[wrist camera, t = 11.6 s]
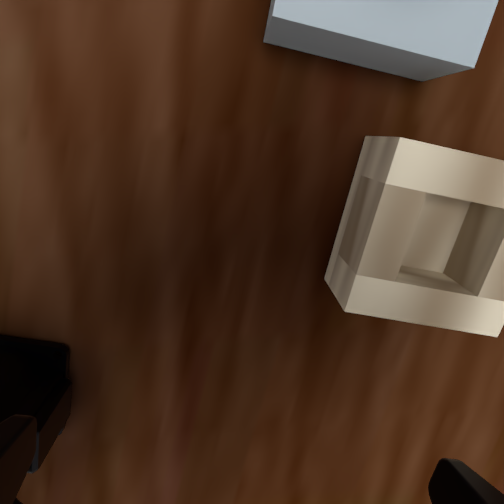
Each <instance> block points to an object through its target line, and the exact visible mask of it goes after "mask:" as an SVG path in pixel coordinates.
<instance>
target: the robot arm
mask: <svg viewBox="0 0 504 504" xmlns="http://www.w3.org/2000/svg"><path fill="white" fill-rule="evenodd" d="M56 351H58V352H60V353H61V354H62V355H59V354H58V353H57V352H56ZM69 353H70V352H69V349H68V347H67V346H65V345H63V344H58V343H51V342H44V341H37V340H30V339H23V338H16V337H10V336H3V335H0V504H22V503H21V502H20V501H19V500H18V499H17V498H16V496H17V493H18V491H19V489H20V487H21V485H22V482H23V480H24V478H25V476H26V474H27V473H34V472H35V471H37V470H38V469H39V467H40V466H41V464H42V462H43V461H44V459H45V457H46V455H47V454H48V452H49V450H50V448H51V447H52V445H53V443H54V441H55V440H56V438H57V436H58V435H60V434H61V433H62V431H63V430H64V428H65V422H66V420H67V419H68V417H69V415H70V407H71V392H72V382H71V380H70V379H69V378H68V370H69ZM428 491H429V496H430V499H431V502H432V504H504V494H502V493H501V492H500V491H498V490H497V489H496V488H495V487H493V486H492V485H491V484H490V483H488V482H487V481H486V480H485V479H483V478H482V477H481V476H479V475H478V474H477V473H476V472H474V471H473V470H472V469H471V468H469V467H468V466H467V465H465V464H464V463H463V462H462V461H460V460H457V459H448V458H442V459H441V460H439V462H438V464H437V466H436V468H435V470H434V473H433V475H432V477H431V479H430V482H429V486H428Z"/></svg>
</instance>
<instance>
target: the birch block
mask: <svg viewBox="0 0 504 504" xmlns="http://www.w3.org/2000/svg"><path fill="white" fill-rule="evenodd" d="M324 279H325V281H326V283H327V284H328V286H329V287H330V289H331V291H332V292H333V294H334V295H335V297H336V299H337V300H338V302H339V304H340V305H341V307H342V308H343V310H344V312H350V313H356V314H362V315H368V316H374V317H380V318H386V319H392V320H398V321H404V322H410V323H416V324H422V325H428V326H434V327H440V328H446V329H452V330H458V331H464V332H470V333H476V334H482V335H488V336H494V337H498V335H499V333H500V331H501V329H502V327H503V325H504V161H503V160H498V159H494V158H490V157H485V156H481V155H476V154H472V153H468V152H463V151H459V150H455V149H450V148H446V147H441V146H437V145H433V144H428V143H424V142H420V141H415V140H411V139H406V138H402V137H384V136H365V139H364V143H363V146H362V150H361V153H360V157H359V160H358V163H357V167H356V170H355V174H354V177H353V181H352V184H351V188H350V191H349V194H348V198H347V201H346V205H345V208H344V212H343V215H342V219H341V222H340V225H339V229H338V232H337V236H336V239H335V243H334V246H333V250H332V253H331V256H330V260H329V263H328V267H327V270H326V274H325V277H324Z"/></svg>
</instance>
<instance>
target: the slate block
mask: <svg viewBox="0 0 504 504" xmlns="http://www.w3.org/2000/svg"><path fill="white" fill-rule="evenodd" d="M497 3H498V0H271V4H270V10H269V15H268V20H267V25H266V30H265V36H264V41H263V42H265V43H269V44H273V45H277V46H281V47H285V48H289V49H293V50H297V51H301V52H305V53H309V54H314V55H318V56H322V57H326V58H330V59H334V60H338V61H342V62H346V63H350V64H354V65H358V66H362V67H366V68H370V69H374V70H378V71H382V72H386V73H390V74H394V75H398V76H402V77H406V78H410V79H414V80H418V81H422V82H423V81H426V80H430V79H434V78H438V77H442V76H445V75H449V74H453V73H457V72H461V71H465V70H468V69H472V68H474V67H475V64H476V61H477V59H478V56H479V53H480V50H481V47H482V45H483V42H484V39H485V36H486V34H487V31H488V28H489V25H490V22H491V20H492V17H493V14H494V11H495V9H496V6H497Z"/></svg>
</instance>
